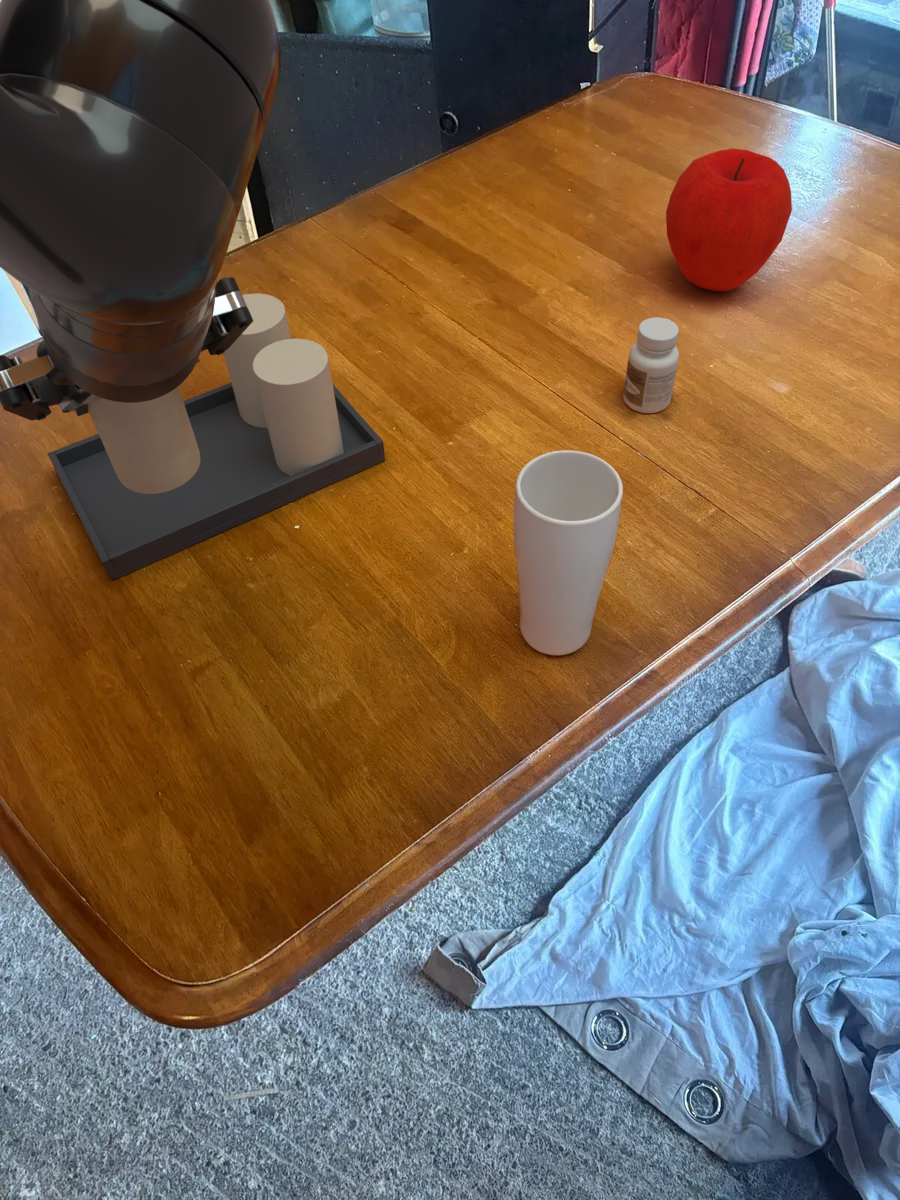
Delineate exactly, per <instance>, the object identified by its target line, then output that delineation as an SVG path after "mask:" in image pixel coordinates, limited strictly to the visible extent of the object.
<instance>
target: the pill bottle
mask: <svg viewBox="0 0 900 1200" xmlns="http://www.w3.org/2000/svg"><path fill="white" fill-rule="evenodd" d="M679 332H680V329H679V326H678V324H677V323H676V322H674V321H673V320H672V319H668V318H666V317H661V316H660V317H659V316H655V317H654V316H653V317H649V318H646V319H644V320H642V321H641V322H640V323H639V325H638V330H637V336H636V342H634V343H633V344H632V345H631V347H630V349H629V353H628V358H627V365H626V366H627V367H626V373H625V380H624V386H623V393H622V394H623V395H622V397H623V398H622V399H623V401H624V403H625V404H626V406H628V408H630V409H631V410H633V411H635V412H638V413H641V414H656V413H658V412H661V411H664V410H665V409H667V408H668V407H669V405H670V403H671V400H672V396H673V392H674V386H675V381H676V377H677V371H678V365H679V360H680V351H679V349H678V347H677V343H678V339H679Z"/></svg>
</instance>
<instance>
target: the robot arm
mask: <svg viewBox="0 0 900 1200" xmlns="http://www.w3.org/2000/svg"><path fill="white" fill-rule="evenodd" d="M281 66H282V52H281V41H280V34H279V29H278V25H277V21H276V17H275V13H274V10H273V7H272V4H271V2H270V0H0V269H2V270H3V271H4V272H6V273H7V274H8V275H10V276H11V277H12V278H14V279H15V280H16V281H18V282H19V283H20V284H21V285H24V286H25V287H26V288H27V289H28V293H29V299H30V301H31V305H32V308H33V311H34V315H35V318H36V321H37V324H38V327H39V330H40V334H41V337H42V341H41V342H39V344H38V345H37V347H36V357H35V358H32V359H29V360H26V361H24V362H23V360H22V358H21V356H20V355H15V356H11V358H10V357H8V356H6V355H3V354H2V355H0V405H1V407H2V409H3V410H4V411H5V412H8V413H10V414H13V415H16V416H17V417H21V418H23V419H26V420H29V421H42V420H45V419H46V418H47V416H49V415H51V414H52V411H51V407H52V406H57V405H58V406H59V408H60V409H61V412H62V413H63V414H67V413H70V412H73V411H74V412H75V415H76V416H77V417H82V416H84V415H86V414H90V413H89V410H88V405H87V404H88V403H92V402H95V401H99V400H101V399H102V398H103V399H107V400H111V401H116V402H124V403H135V402H144V401H149V400H153V399H156V398H159V397H161V396H164V395H165V394H167V393H169V392H171V391H172V390H174V389H175V388H177V387H179V386H181V385H182V384H183V383H184V382H185V381H186V379H188V377H189V376H190V375H191V373H192V372H193V370H194V368H195V367H196V365H197V364H198V363H199V362H201V359H200V356H201V353H202V352H204V351H206V350H207V351H208V354H209V356H215V355H216V356H220V355H224V354H223V353H224V352H225V351H226V350H227V349H229V347H230V346H231V345H232V344H233V343H234V342H235V341H236V340H237V339H238V338H239V336H240V335H241V334H242V333H243V332H244V331H245V330H246V329H247V328H248V326H249V325H250V324H251V323H252V322H253V318H252V316H251V314H250V312H249V310H248V307H247V305H246V303H245V301H244V298H243V296H242V295H243V294H242V292H241V290H240V287H239V285H238V283H237V281H236V279H235V276H230V277H223V278H220V279H219V277H220V274H221V271H222V268H223V265H224V262H225V259H226V256H227V253H228V250H229V247H230V243H231V241H232V237H233V233H234V231H235V227H236V224H237V219H238V217H239V214H240V210H241V207H242V204H243V201H244V197H245V194H246V191H247V187H248V184H249V181H250V178H251V175H252V171H253V168H254V164H255V161H256V159H257V155H258V152H259V148H260V146H261V141H262V139H263V135H264V133H265V131H266V128H267V125H268V121H269V118H270V115H271V111H272V109H273V105H274V102H275V98H276V95H277V91H278V86H279V82H280V76H281V68H282V67H281Z"/></svg>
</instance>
